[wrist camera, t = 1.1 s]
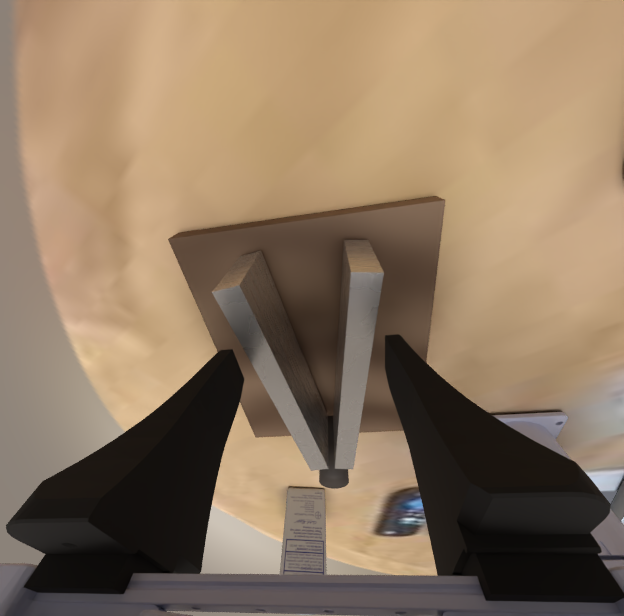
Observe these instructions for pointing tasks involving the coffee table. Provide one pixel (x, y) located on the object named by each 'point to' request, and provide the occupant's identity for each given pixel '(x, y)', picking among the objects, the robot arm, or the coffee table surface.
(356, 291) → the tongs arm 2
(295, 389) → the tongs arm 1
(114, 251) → the coffee table surface
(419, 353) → the walnut board
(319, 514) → the medicine box
